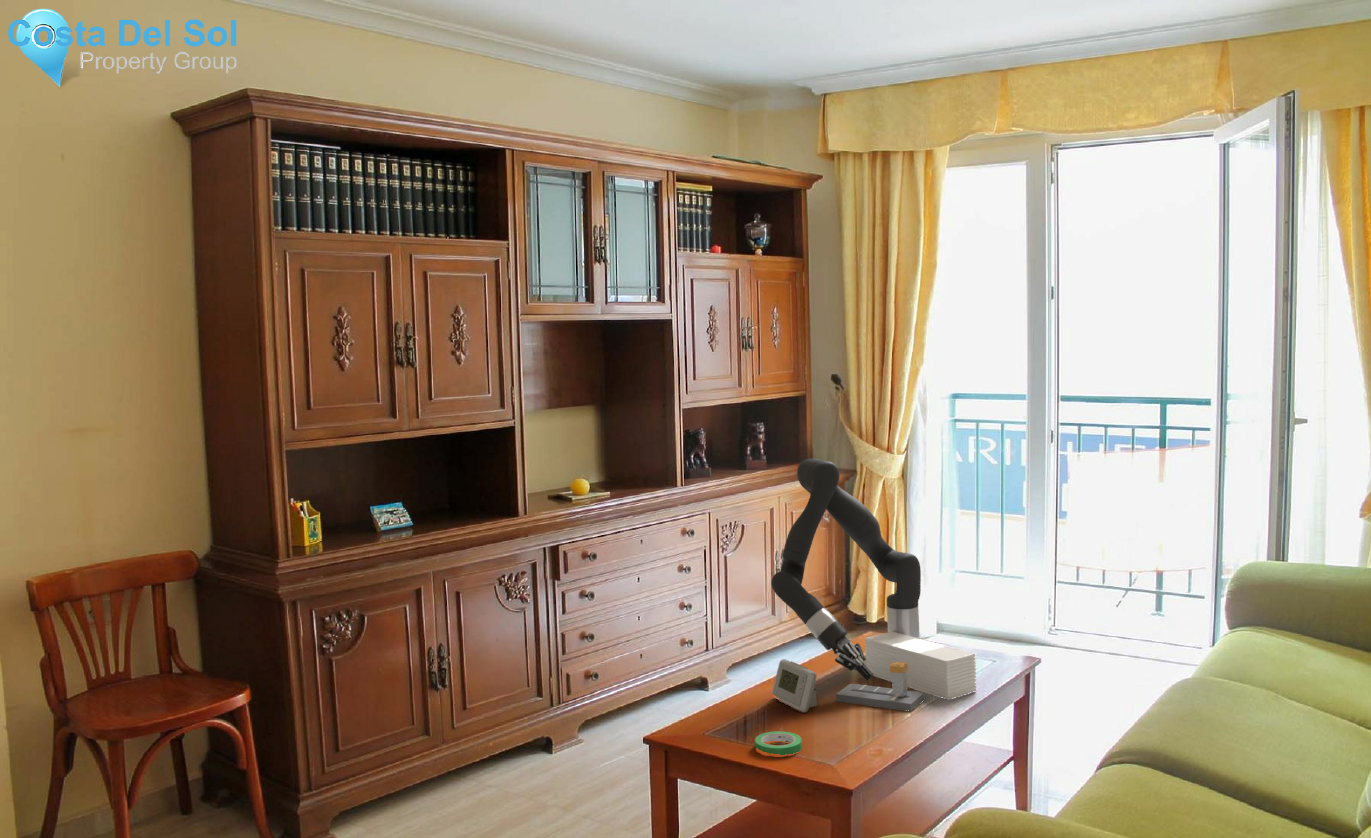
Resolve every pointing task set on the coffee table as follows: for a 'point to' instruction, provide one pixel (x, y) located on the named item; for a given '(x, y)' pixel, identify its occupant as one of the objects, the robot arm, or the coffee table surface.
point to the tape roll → (779, 736)
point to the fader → (899, 678)
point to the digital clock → (795, 685)
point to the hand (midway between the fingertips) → (870, 677)
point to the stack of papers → (922, 664)
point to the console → (879, 697)
